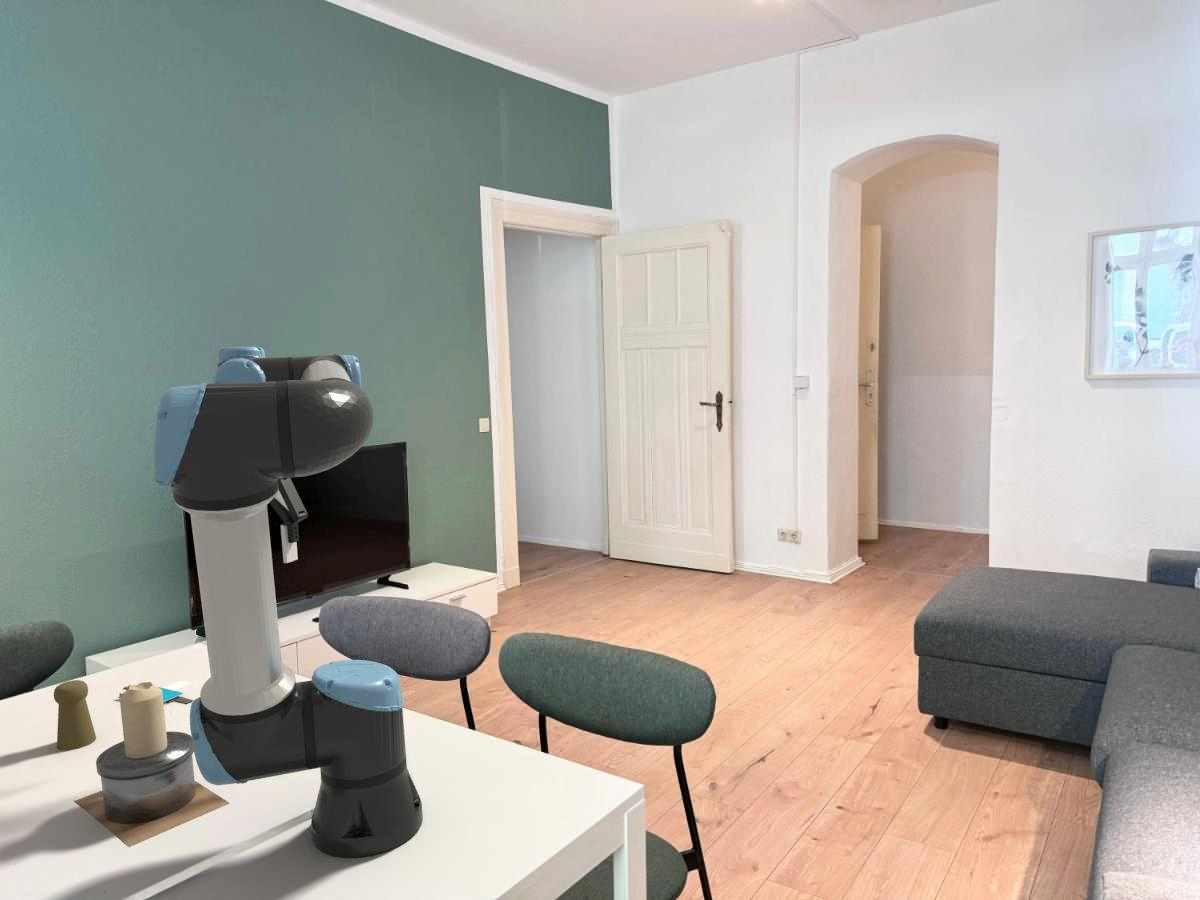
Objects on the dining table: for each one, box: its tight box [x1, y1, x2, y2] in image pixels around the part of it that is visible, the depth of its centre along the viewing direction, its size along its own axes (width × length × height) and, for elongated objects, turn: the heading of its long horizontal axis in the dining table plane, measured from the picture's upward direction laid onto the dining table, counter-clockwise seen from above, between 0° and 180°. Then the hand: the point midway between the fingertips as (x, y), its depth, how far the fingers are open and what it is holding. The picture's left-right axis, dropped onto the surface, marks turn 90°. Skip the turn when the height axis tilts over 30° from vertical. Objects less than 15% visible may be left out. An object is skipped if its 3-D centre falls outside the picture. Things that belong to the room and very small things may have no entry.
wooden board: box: [73, 780, 230, 848], centre depth 128 cm, size 20×14×2 cm
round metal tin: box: [95, 731, 196, 824], centre depth 128 cm, size 13×13×8 cm
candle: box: [119, 681, 167, 759], centre depth 127 cm, size 6×6×10 cm
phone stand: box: [118, 680, 195, 705], centre depth 174 cm, size 20×12×2 cm, turn 62°
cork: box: [53, 679, 97, 751], centre depth 152 cm, size 6×6×11 cm
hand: (258, 559), depth 150 cm, fingers open, 13 cm apart
